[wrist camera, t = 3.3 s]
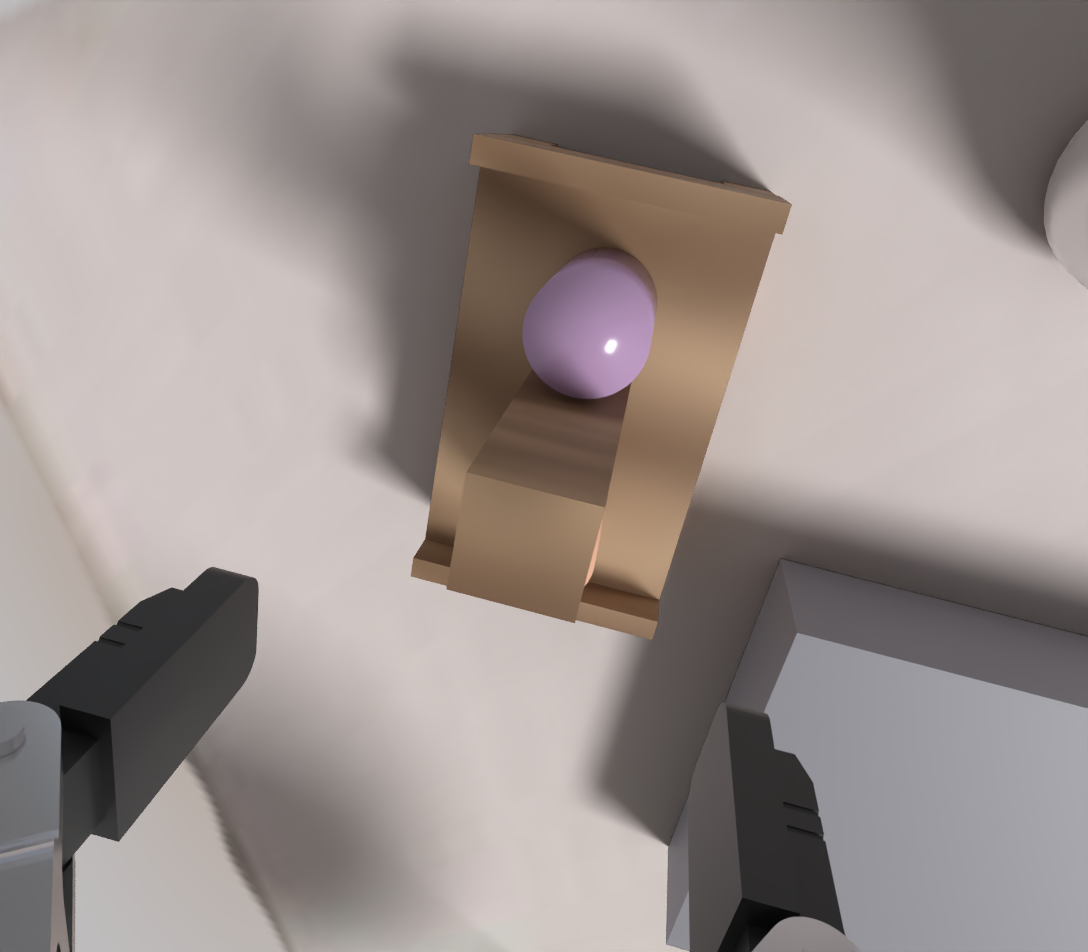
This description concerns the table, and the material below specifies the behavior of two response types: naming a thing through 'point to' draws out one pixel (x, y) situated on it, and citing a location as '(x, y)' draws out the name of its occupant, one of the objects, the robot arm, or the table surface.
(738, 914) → the robot arm
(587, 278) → the lilac rounded capsule
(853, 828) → the plain gray square box
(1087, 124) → the plastic bottle
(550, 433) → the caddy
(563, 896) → the table surface
